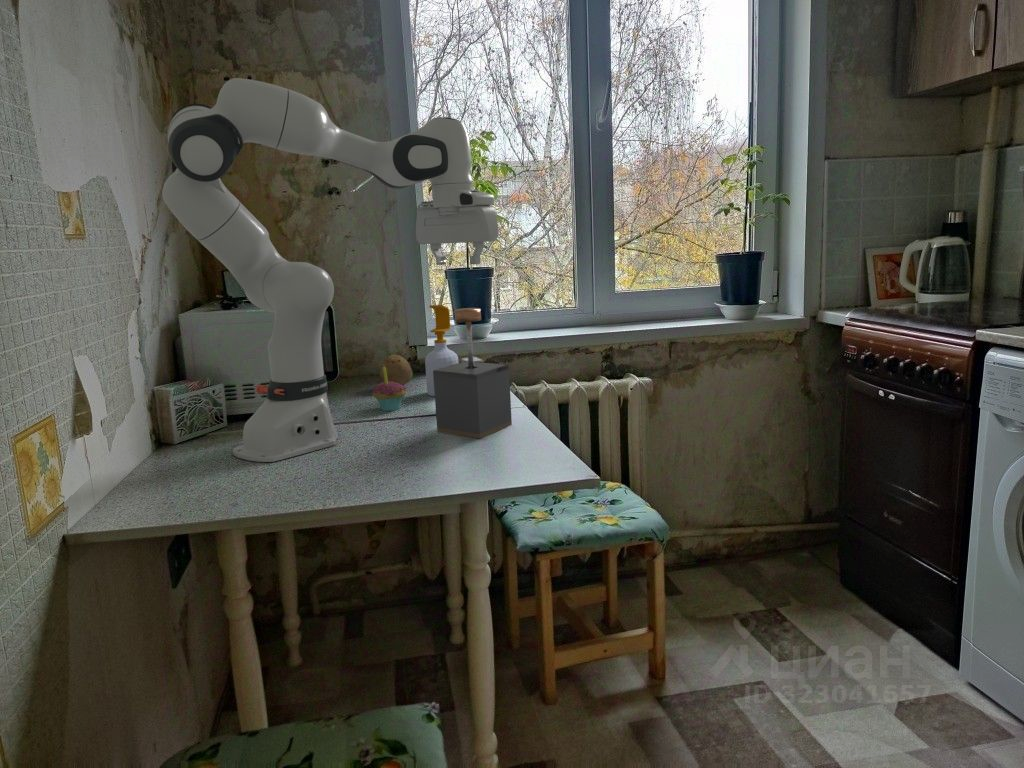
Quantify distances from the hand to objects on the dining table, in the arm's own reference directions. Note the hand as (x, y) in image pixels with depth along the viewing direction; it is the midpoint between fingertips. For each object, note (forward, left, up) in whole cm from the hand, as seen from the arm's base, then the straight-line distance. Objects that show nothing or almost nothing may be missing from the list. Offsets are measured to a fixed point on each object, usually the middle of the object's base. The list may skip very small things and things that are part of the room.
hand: (458, 264), depth 153 cm
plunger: (-1, -3, -25) cm, 25 cm away
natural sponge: (+22, +44, -37) cm, 61 cm away
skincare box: (+16, +11, -37) cm, 42 cm away
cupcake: (+4, +29, -37) cm, 47 cm away
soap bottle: (+23, +27, -37) cm, 51 cm away
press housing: (-1, -2, -37) cm, 37 cm away
